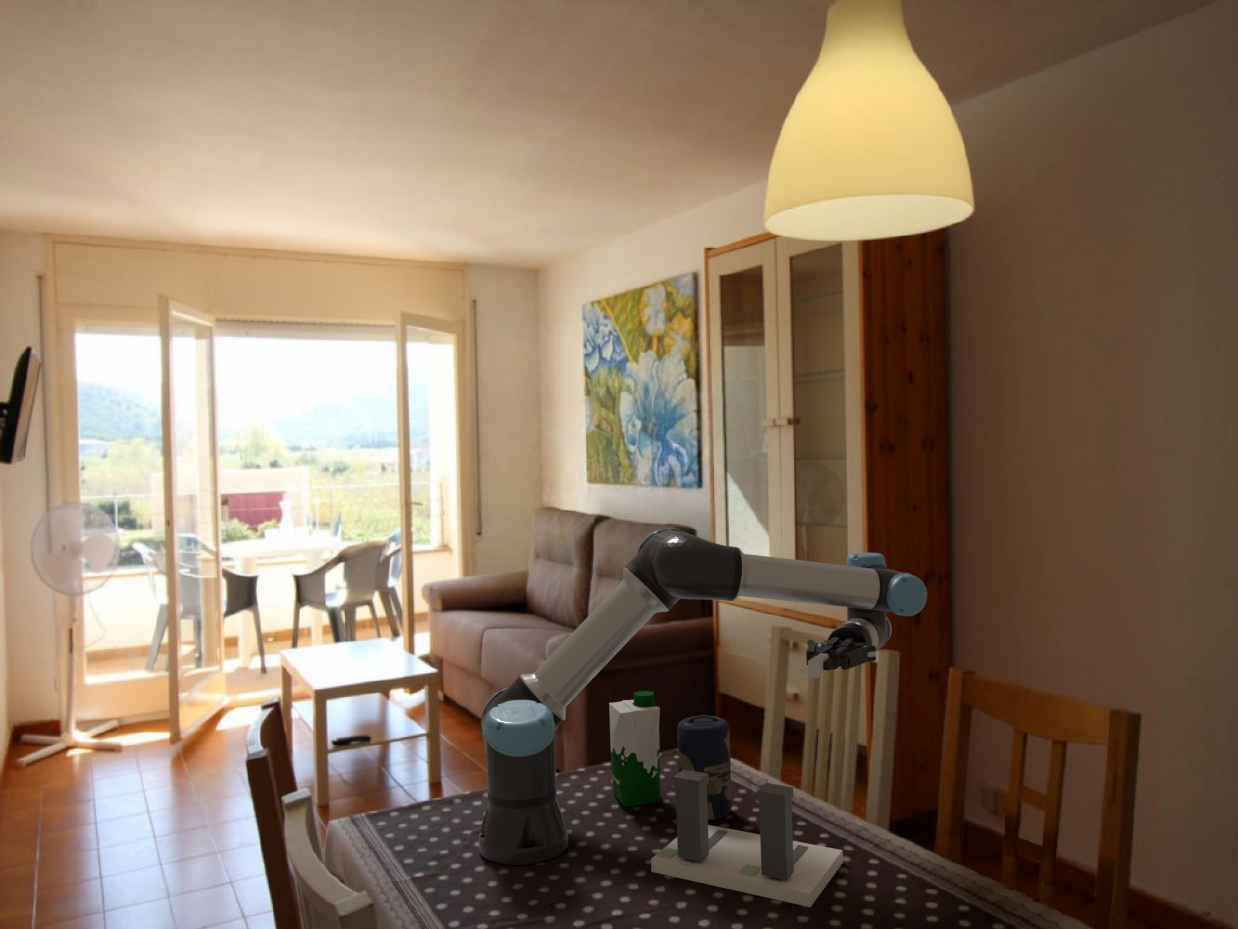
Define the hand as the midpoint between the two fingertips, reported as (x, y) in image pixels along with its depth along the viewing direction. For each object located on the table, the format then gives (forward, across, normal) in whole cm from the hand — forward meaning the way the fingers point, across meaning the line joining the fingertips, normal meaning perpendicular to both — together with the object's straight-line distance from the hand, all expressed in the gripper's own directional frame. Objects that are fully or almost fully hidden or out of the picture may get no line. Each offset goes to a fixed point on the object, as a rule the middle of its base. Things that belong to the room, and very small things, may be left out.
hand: (812, 669), depth 157 cm
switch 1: (+18, +14, -27) cm, 35 cm away
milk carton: (-5, +37, -30) cm, 48 cm away
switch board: (+13, +7, -29) cm, 33 cm away
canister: (-4, +22, -30) cm, 37 cm away
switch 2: (+18, 0, -27) cm, 32 cm away
